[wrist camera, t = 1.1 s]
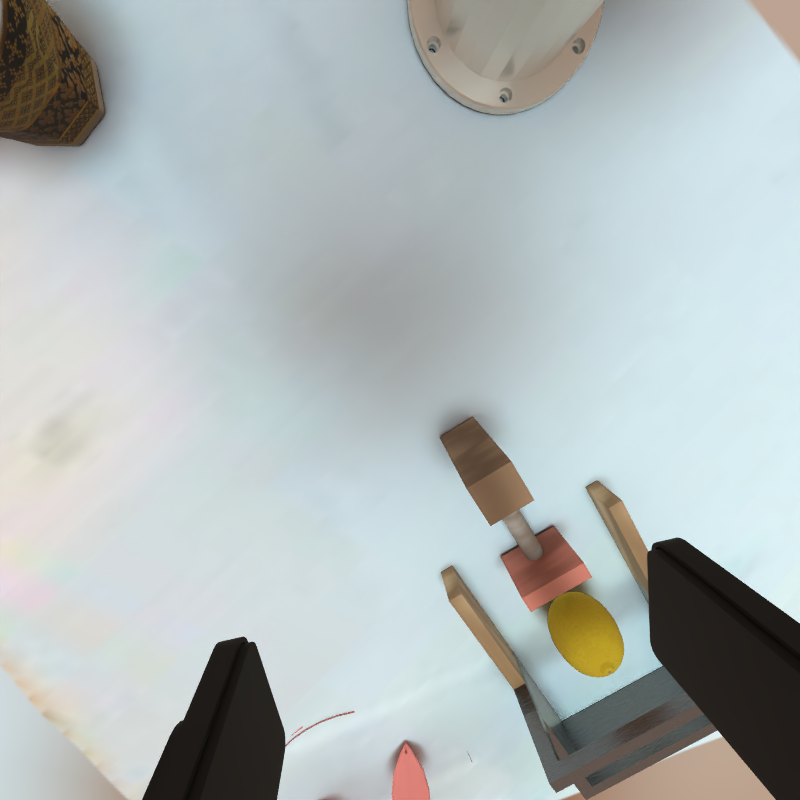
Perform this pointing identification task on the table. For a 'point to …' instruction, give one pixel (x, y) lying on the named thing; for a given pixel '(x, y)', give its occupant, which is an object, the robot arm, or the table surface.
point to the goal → (612, 731)
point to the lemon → (585, 634)
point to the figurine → (403, 774)
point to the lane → (485, 629)
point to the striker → (513, 517)
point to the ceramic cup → (44, 78)
